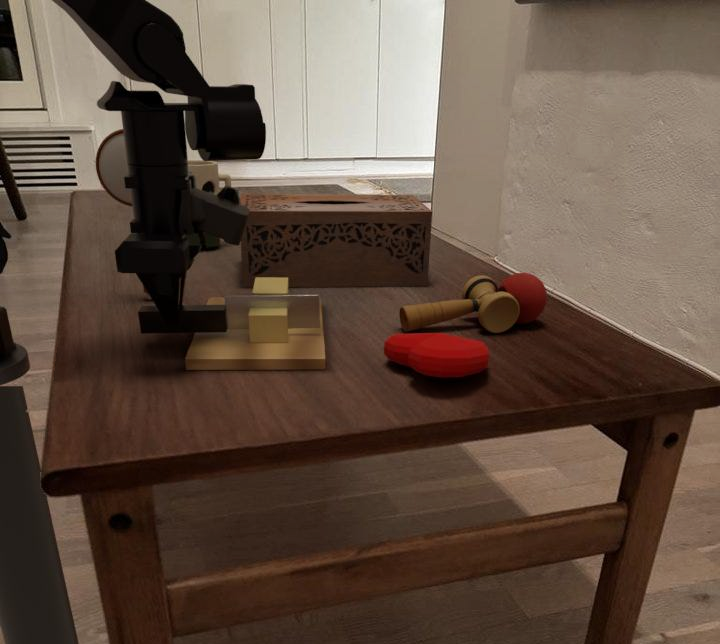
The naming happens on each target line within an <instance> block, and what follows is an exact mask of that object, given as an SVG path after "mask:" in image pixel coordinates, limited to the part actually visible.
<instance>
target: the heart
mask: <svg viewBox="0 0 720 644" xmlns="http://www.w3.org/2000/svg"><path fill="white" fill-rule="evenodd" d="M383 354H384V355H385V356H386V358H388V359H389V361H391V362H394V363H396V364H399V365H401V366H405V367H408V368H411V369H413V370H414V371H415V372H417V373H420V374H422V375H424V376H429V377H437V378H463V377H467V376H470V375H474V374H479V373H481V372H482V371H484V370H485V369H486V368H488V365H489V362H490V348H489V347H488V345H486V343H485V342H484V341H481V340H475V339H471V338H466V337H463V336H462V337H461V336H457V335H452V334H448V333H443V332H420V333H419V332H418V333H415V332H413V333H395V334H393V335H391V336H390V337H388V338H387V339H386V340H385V341H384V344H383Z"/></svg>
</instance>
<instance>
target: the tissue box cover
mask: <svg viewBox="0 0 720 644" xmlns="http://www.w3.org/2000/svg"><path fill="white" fill-rule="evenodd" d="M239 195H240V201H241V205H247V208H249V209H250V212H249V215H248V219H247V222H246V225H245V228H244V232H243V235H242V238H241V241H240V255H241V271H242V272H241V273H242V288H244V289H246V288H247V289H249V288H251V289H253V287H254V282H255V278H256V277H277V278H288V283H289V288H330V287H331V288H342V287H343V288H346V287H347V288H350V287H351V288H353V287H354V288H355V287H356V288H357V287H361V288H362V287H428V285H429V284H428V283H429V269H430V255H431V254H430V253H431V239H432V237H431V236H432V225H433V211H432V210H431V209H430V208H429V207H428V206H426V204H424V203H423V202H422V201H421V200H419V198H418V197H416V196H414V195H413V194H355V193H353V194H351V193H350V194H349V193H348V194H346V193H345V194H344V193H343V194H338V193H337V194H333V193H331V194H328V193H327V194H326V193H318V194H317V193H316V194H315V193H240V194H239Z"/></svg>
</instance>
